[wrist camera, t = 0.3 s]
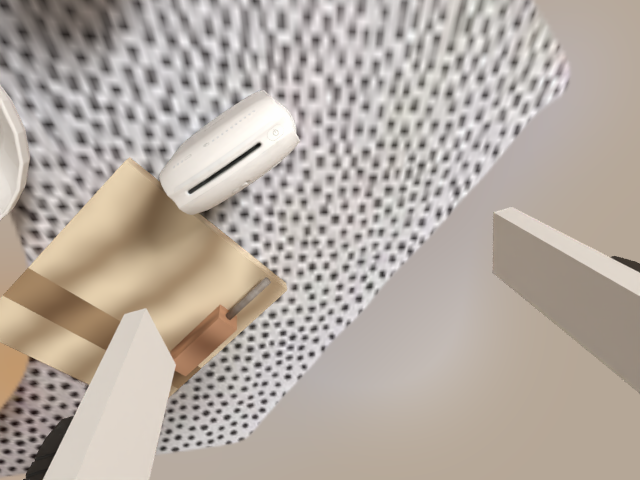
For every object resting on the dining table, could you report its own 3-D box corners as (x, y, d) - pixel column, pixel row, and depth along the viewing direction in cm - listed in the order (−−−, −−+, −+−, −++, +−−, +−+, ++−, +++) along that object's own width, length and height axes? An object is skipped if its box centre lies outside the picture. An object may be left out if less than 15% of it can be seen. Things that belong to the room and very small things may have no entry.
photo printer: (265, 81, 32) (277, 88, 22) (292, 123, 34) (315, 149, 23) (172, 146, 33) (137, 185, 22) (203, 184, 35) (185, 237, 24)
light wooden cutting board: (-18, 319, 37) (-28, 329, 35) (129, 157, 33) (124, 161, 32) (153, 403, 45) (150, 414, 44) (285, 282, 42) (287, 290, 40)
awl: (188, 360, 42) (185, 376, 40) (171, 350, 41) (167, 366, 39) (275, 280, 39) (277, 292, 37) (259, 267, 38) (260, 279, 36)
